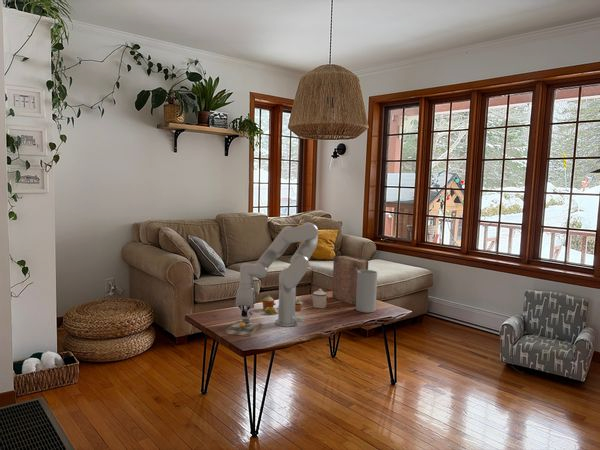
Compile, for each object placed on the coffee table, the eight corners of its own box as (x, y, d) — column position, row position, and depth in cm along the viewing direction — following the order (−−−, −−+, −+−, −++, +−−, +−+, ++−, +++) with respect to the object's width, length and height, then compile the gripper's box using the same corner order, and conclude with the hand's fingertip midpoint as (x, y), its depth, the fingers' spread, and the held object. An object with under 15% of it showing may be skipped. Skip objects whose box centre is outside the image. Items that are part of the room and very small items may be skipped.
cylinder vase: (366, 314, 287) (368, 274, 285) (351, 309, 296) (353, 271, 294) (379, 310, 295) (381, 272, 293) (364, 306, 305) (366, 269, 302)
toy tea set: (266, 316, 277) (266, 300, 276) (257, 309, 291) (257, 294, 290) (305, 312, 288) (305, 297, 287) (294, 305, 302) (295, 291, 301)
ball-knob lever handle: (247, 330, 243) (247, 322, 243) (236, 329, 244) (236, 321, 243) (255, 317, 266) (255, 310, 266) (245, 316, 267) (245, 309, 266)
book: (366, 304, 310) (368, 260, 307) (356, 306, 304) (358, 261, 301) (342, 296, 330) (343, 254, 327) (332, 297, 325) (333, 255, 322)
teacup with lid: (329, 306, 301) (329, 289, 300) (320, 309, 294) (321, 291, 293) (314, 303, 309) (315, 286, 308) (306, 305, 302) (306, 288, 301)
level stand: (261, 325, 257) (261, 322, 257) (250, 336, 240) (250, 332, 240) (237, 323, 260) (237, 320, 260) (225, 333, 243) (225, 329, 243)
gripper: (260, 285, 260) (258, 317, 262) (236, 282, 264) (234, 314, 265) (256, 288, 253) (254, 321, 254) (231, 285, 256) (229, 317, 258)
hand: (244, 317), depth 260 cm, fingers closed
